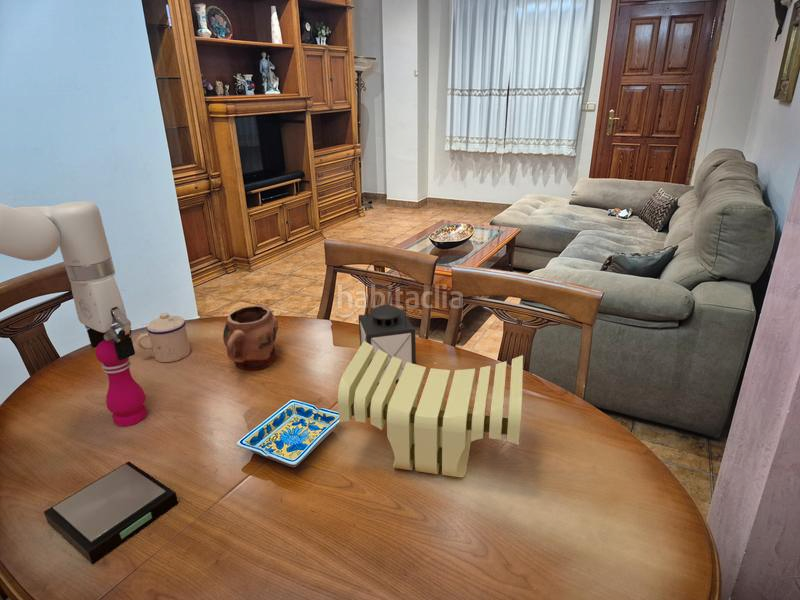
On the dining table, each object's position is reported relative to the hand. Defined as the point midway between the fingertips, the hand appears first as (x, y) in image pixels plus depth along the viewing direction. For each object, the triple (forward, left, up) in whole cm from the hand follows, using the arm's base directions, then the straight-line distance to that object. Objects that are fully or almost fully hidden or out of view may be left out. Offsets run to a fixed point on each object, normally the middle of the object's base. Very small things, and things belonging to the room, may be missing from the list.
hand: (113, 350), depth 101 cm
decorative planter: (+29, -5, -16) cm, 33 cm away
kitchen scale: (-16, -23, -16) cm, 32 cm away
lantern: (+44, -35, -16) cm, 58 cm away
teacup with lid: (+20, +18, -16) cm, 31 cm away
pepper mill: (0, 0, -16) cm, 16 cm away
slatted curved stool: (+25, -59, -16) cm, 66 cm away
